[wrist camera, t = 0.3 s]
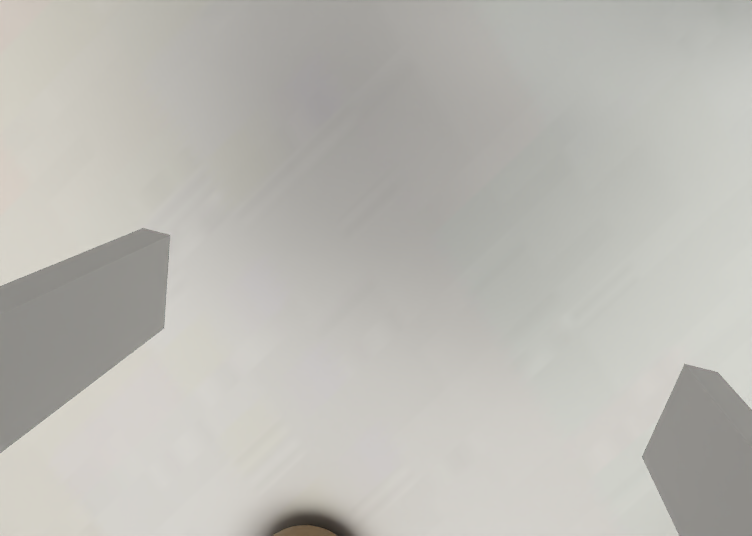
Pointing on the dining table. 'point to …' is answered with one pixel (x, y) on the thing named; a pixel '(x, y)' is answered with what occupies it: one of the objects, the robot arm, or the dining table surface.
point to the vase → (304, 531)
